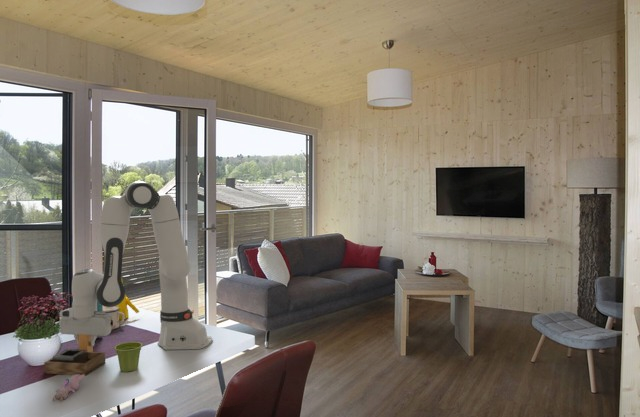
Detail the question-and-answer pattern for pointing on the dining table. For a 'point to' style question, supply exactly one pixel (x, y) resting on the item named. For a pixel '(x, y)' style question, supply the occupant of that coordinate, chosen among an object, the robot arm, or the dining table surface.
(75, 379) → the rabbit figure
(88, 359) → the crate
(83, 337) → the orange square peg
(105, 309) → the teacup with lid
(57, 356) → the socket
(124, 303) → the figure statuette
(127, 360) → the plant pot
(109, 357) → the dining table surface
